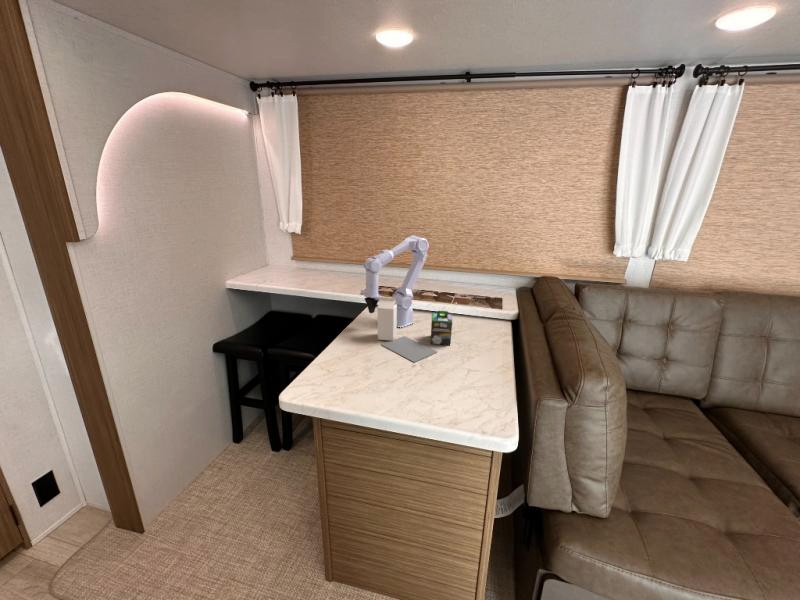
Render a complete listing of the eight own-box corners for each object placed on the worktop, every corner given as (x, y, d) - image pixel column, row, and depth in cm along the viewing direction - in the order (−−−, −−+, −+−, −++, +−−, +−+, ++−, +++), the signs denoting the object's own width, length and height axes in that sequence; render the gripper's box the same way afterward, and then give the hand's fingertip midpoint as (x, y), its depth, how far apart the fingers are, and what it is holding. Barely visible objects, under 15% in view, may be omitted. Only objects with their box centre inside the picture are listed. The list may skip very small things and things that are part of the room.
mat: (404, 336, 162) (404, 336, 162) (437, 352, 148) (437, 351, 148) (381, 345, 153) (381, 344, 152) (414, 362, 139) (414, 362, 139)
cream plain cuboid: (393, 341, 156) (393, 300, 150) (377, 339, 157) (377, 299, 152) (396, 335, 163) (397, 295, 157) (381, 333, 164) (381, 294, 158)
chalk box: (450, 337, 164) (452, 307, 159) (450, 345, 155) (453, 314, 150) (430, 335, 164) (432, 305, 160) (429, 344, 156) (432, 312, 151)
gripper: (355, 282, 163) (355, 309, 167) (375, 290, 153) (375, 319, 157) (367, 280, 167) (367, 306, 172) (387, 287, 157) (386, 315, 162)
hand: (371, 312), depth 165 cm, fingers closed
